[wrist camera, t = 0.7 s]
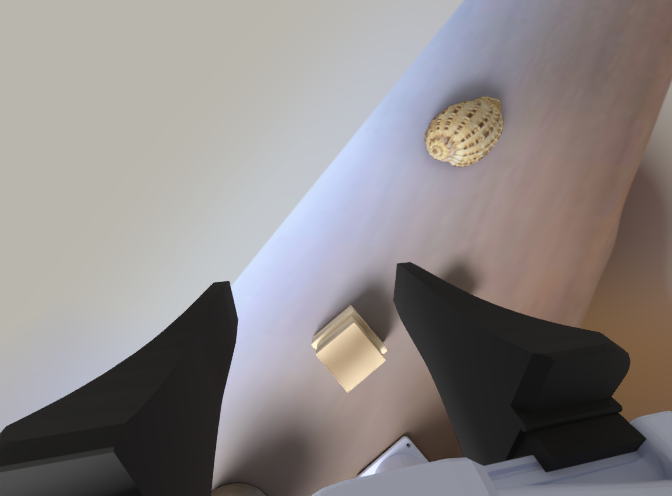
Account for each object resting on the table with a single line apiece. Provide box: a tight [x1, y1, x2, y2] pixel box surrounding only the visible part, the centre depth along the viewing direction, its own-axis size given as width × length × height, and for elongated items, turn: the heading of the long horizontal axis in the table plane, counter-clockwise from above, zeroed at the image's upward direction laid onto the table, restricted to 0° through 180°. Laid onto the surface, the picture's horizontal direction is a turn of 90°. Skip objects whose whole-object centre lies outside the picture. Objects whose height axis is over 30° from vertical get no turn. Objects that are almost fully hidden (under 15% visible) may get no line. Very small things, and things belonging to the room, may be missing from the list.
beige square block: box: [316, 316, 386, 393], centre depth 30 cm, size 5×5×3 cm
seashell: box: [425, 96, 503, 167], centre depth 32 cm, size 8×6×10 cm
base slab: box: [311, 305, 387, 354], centre depth 33 cm, size 6×6×3 cm
